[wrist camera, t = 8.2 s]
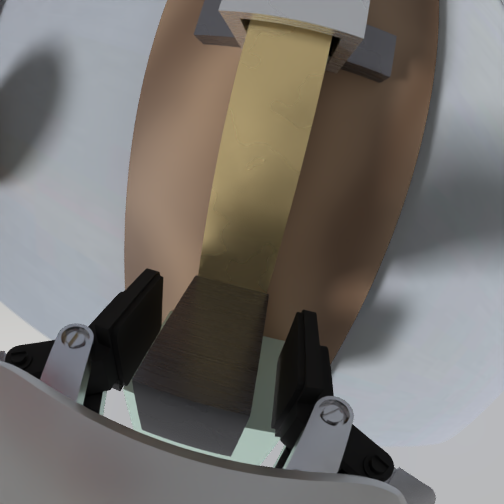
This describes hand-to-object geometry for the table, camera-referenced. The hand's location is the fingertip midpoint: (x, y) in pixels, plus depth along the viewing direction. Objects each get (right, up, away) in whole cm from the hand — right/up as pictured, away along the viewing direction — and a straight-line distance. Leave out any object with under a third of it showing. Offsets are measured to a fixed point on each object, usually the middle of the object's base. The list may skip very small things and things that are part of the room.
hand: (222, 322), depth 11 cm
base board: (+2, +8, +3) cm, 9 cm away
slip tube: (+1, +5, +1) cm, 5 cm away
